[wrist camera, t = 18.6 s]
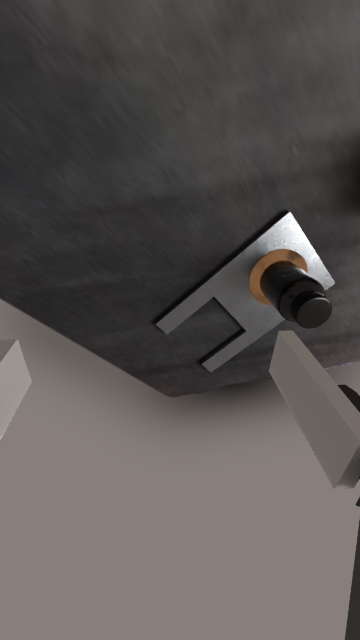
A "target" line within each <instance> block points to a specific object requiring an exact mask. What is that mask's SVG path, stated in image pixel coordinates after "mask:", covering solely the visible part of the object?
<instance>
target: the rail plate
mask: <svg viewBox="0 0 360 640" xmlns="http://www.w3.org/2000/svg"><path fill="white" fill-rule="evenodd" d="M277 261H290V262H292V263H294V264H295V265H297V266H298V267H300V268H301V269H302V270H304V271H305V272H306V273H308V274H309V275H310V276H312V277H313V278H314V279H316V280H317V281H318V282H319V283H321V285H322V286H323V288H324V290H327V289H328V288H329V287H331V286H332V285H334V284H335V282H334V280H333V279H332V277H331V276H330V274H329V273H328V271H327V269H326V268H325V266H324V265H323V263H322V261H321V260H320V258H319V257H318V255H317V253H316V252H315V250H314V249H313V247H312V246H311V244H310V242H309V241H308V239H307V238H306V236H305V234H304V233H303V231H302V230H301V228H300V226H299V225H298V223H297V222H296V220H295V218H294V217H293V215H292V214H291V212H290V211H286V212H285V213H284V214H283V215H281V216H280V217H279V218H278V219H277V220H276V221H274V222H273V223H272V224H271V225H270V226H268V227H267V228H266V229H265V230H264V231H262V232H261V233H260V234H259V235H258V236H257V237H255V238H254V239H253V240H252V241H251V242H249V243H248V244H247V245H246V246H245V247H244V248H242V249H241V250H240V251H239V252H238V253H236V254H235V255H234V256H233V257H232V258H230V259H229V260H228V261H227V262H226V263H225V264H223V265H222V266H221V267H220V268H219V269H217V270H216V271H215V272H214V273H213V274H211V275H210V276H209V277H208V278H207V279H206V280H204V281H203V282H202V283H201V284H200V285H198V286H197V287H196V288H195V289H194V290H192V291H191V292H190V293H189V294H188V295H187V296H185V297H184V298H183V299H182V300H181V301H179V302H178V303H177V304H176V305H175V306H174V307H172V308H171V309H170V310H169V311H168V312H166V313H165V314H164V315H163V316H162V317H160V318H159V319H158V320H157V321H156V325H157V326H158V327H159V328H160V329H161V330H162V331H164V332H165V333H166V334H168V333H170V332H171V331H172V330H173V329H175V328H176V327H177V326H178V325H179V324H181V323H182V322H183V321H184V320H186V319H187V318H188V317H189V316H191V315H192V314H193V313H194V312H195V311H197V310H198V309H199V308H200V307H202V306H203V305H204V304H205V303H207V302H208V301H209V300H210V299H211V298H213V297H215V298H216V299H217V300H218V301H219V302H220V303H221V304H222V305H223V307H224V308H225V309H226V310H227V311H228V312H229V313H230V314H231V315H232V316H233V317H234V318H235V319H236V320H237V321H238V323H239V324H240V325H241V326H242V327H243V328H244V330H242V331H241V332H239V333H238V334H237V335H235V336H234V337H233V338H231V339H230V340H229V341H227V342H226V343H225V344H223V345H222V346H221V347H219V348H218V349H217V350H215V351H214V352H212V353H211V354H210V355H208V356H207V357H206V358H204V359H203V360H202V361H201V364H202V365H203V366H204V367H205V368H206V369H208V370H209V371H210V372H212V371H214V370H215V369H216V368H218V367H219V366H221V365H222V364H223V363H225V362H226V361H227V360H229V359H230V358H232V357H233V356H234V355H236V354H237V353H239V352H240V351H241V350H243V349H244V348H246V347H247V346H248V345H250V344H251V343H253V342H254V341H255V340H257V339H258V338H260V337H261V336H262V335H264V334H265V333H267V332H268V331H269V330H271V329H272V328H274V327H275V326H276V325H278V324H279V323H281V322H282V321H283V320H285V318H283V317H282V316H281V315H280V314H279V312H278V311H277V310H276V309H275V307H274V306H273V305H272V304H271V303H270V301H269V300H268V299H267V298H266V296H265V295H264V294H263V293H262V291H261V288H260V278H261V275H262V273H263V272H264V270H265V269H266V268H267V267H268V266H269V265H271V264H273V263H275V262H277Z"/></svg>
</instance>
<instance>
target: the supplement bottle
mask: <svg viewBox="0 0 360 640" xmlns="http://www.w3.org/2000/svg"><path fill="white" fill-rule="evenodd" d="M260 288H261V291H262V293H263V294H264V295H265V296H266V298H267V299H268V300H269V301H270V303H271V304H272V305H273V306H274V307H275V309H276V310H277V311H278V312H279V314H280V315H281V316H282V317H283V318H285V319H286V320H289V321H292V322H297V323H298V324H299V325H300V326H301V327H303V328H309V329H311V328H315V327H318V326H320V325H322V324H323V323H324V322H326V321H327V319H328V318H329V317H330V314H331V313H332V312H331V311H332V306H331V303H330V301H329V300H328V299H327V298H326V297H325V290H324V288H323V286H322V285H321V283H319V282H318V281H317V280H316V279H314V278H313V277H312V276H310V275H309V274H308V273H306V272H305V271H304V270H302V269H301V268H300V267H298V266H297V265H295V264H294V263H292V262H290V261H277V262H275V263H273V264H271V265H269V266H268V267H267V268H266V269H265V270H264V272H263V273H262V275H261V278H260Z"/></svg>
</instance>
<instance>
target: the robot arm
mask: <svg viewBox="0 0 360 640" xmlns="http://www.w3.org/2000/svg"><path fill="white" fill-rule="evenodd" d="M269 372H270V374H271V376H272V378H273V379H274V381H275V383H276V385H277V387H278V389H279V390H280V392H281V394H282V396H283V398H284V399H285V401H286V403H287V405H288V407H289V408H290V410H291V412H292V414H293V416H294V417H295V419H296V421H297V423H298V425H299V426H300V428H301V430H302V432H303V434H304V436H305V437H306V439H307V441H308V443H309V445H310V447H311V448H312V450H313V452H314V454H315V456H316V457H317V459H318V461H319V463H320V465H321V467H322V468H323V470H324V472H325V474H326V476H327V477H328V479H329V481H330V483H331V485H332V486H333V488H334V490H338V489H349V488H354V487H355V485H356V483H357V482H358V480H359V479H360V396H359V395H358V393H356V392H355V391H354V390H352V389H351V388H349V387H348V386H346V385H337V384H336V383H335V382H334V381H333V380H332V378H331V377H330V376H329V375H328V373H327V372H326V371H325V370H324V368H323V367H322V366H321V365H320V364H319V362H318V361H317V360H316V359H315V357H314V356H313V355H312V354H311V352H310V351H309V350H308V349H307V348H306V346H305V345H304V344H303V343H302V341H301V340H300V339H299V338H298V337H297V335H296V334H295V333H294V332H293V331H279V332H278V336H277V340H276V344H275V348H274V352H273V357H272V361H271V365H270V369H269ZM31 382H32V381H31V379H30V375H29V373H28V369H27V366H26V363H25V361H24V357H23V354H22V351H21V348H20V345H19V342H18V339H5V340H0V440H1V439H2V437H3V435H4V433H5V431H6V429H7V427H8V425H9V423H10V422H11V420H12V418H13V416H14V414H15V412H16V410H17V408H18V406H19V405H20V403H21V401H22V399H23V397H24V395H25V393H26V391H27V390H28V387H29V386H30V384H31ZM356 505H357V506H360V498H359V499H358V501H357V503H356ZM345 640H360V521H359V529H358V537H357V546H356V554H355V563H354V570H353V578H352V586H351V594H350V603H349V611H348V619H347V627H346V635H345Z"/></svg>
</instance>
